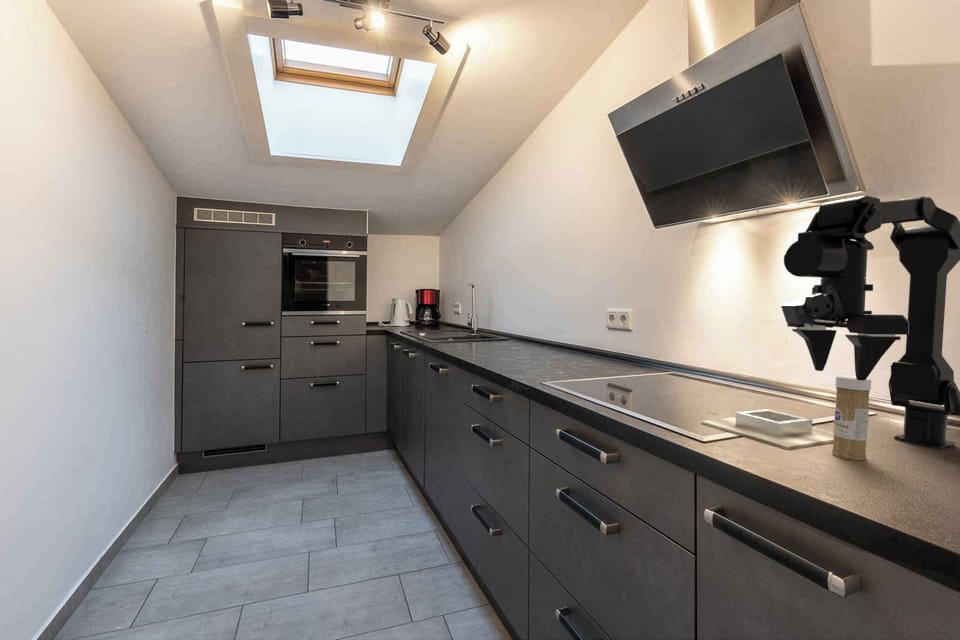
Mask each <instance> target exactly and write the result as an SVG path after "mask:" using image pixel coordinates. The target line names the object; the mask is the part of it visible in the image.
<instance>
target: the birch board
mask: <svg viewBox="0 0 960 640" xmlns="http://www.w3.org/2000/svg"><path fill="white" fill-rule="evenodd" d="M735 423H736V416H734V417H733V416H732V417H724V418H717V419H716V418H715V419H709V420H706V419H705V420H701V424H703V425H705V426H709V427H712V428H715V429H719V430H723V431H726V432H729V433H732V434H736V435H740V436H741V437H745V438H747V439H752V440H754V441H758V442H761V443H764V444H768V445H770V446H775V447H778V448H782V449H784V450H788V451H789V450H795V449H800V448H806V447H813V446H818V445H819V446H820V445H826V444H830V443H832V444H833V440H834V431H830V430H826V429H822V428H818V427H815V426H812V433H805V434H799V435H792V436H785V437H777V436H774V435H770V434H767V433H763V432H760V431H756V430H753V429H749V428H746V427H742V426H739V425H735Z"/></svg>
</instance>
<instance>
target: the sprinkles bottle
mask: <svg viewBox="0 0 960 640" xmlns="http://www.w3.org/2000/svg"><path fill="white" fill-rule="evenodd" d="M834 383H835V384H834V385H835V389H836V396H835V397H836V398H835V409H834V418H833V419H834V421H833V432H834V440H833V442H832V449H831V452H832V454H833V455H834V456H836V457H838V458H842V459H846V460H849V461H850V460H851V461H864V460H866V459H867V455H866V451H867V450H866V449H867V441H868V429H869V427H868V426H869V414H870V413H869V412H870V411H869V410H870V408H869V402H870V393H871V390H872V379H871V378H870V377H867V379H866V380H864V381H862V380H857V379H856V375H853V374H852V375H851V374H838V375H836V377H835V382H834Z"/></svg>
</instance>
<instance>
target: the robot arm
mask: <svg viewBox="0 0 960 640" xmlns="http://www.w3.org/2000/svg"><path fill="white" fill-rule="evenodd" d="M918 221H919V222H920V221H924V223H925V224H926V225H925V226H916V227H908V228H906V229H905V227H903V225H902V224H903V223H904V224H905V223H910V222H918ZM884 224H885V225H886V224H892V225H893V229H892V232H891V234H890V236H889V239H890V241H891V242H892V243H893V245H894V246H895V248H896V250H897V252H898V260H899V262H900V263H901V265H902V266H903V268H904V269H905V270H906V271H907V273H908V274H909V290H908V292H909V293H908V303H907V304H908V305H907V307H908V308H907V317H906V316H904V315H903V314H891V313H889V314H885V313H881V314H880V313H876V314H875V313H873V311H872V310H865V309H866V294H867V293H866V292H873V290H874V284H871V283H869V284H868V283H867V268H868V266H867V265H868V251H873V250H874V249H875V246H874V245H873V243H872V242H871V241H869V240H868V239H867V238H866V237H865V236H866V235H867V234H869V233H871V232H874V231H876V230H878V229H880V228H881V227H882V225H884ZM959 262H960V220H959V218H958V217H957V216H956V215H955V214H953V213H950V212H948V211H946V210H944V209H942V208H940V207H938V206H937V205H936V203H935V201H934V199H933V198H931V197H929V196H927V197H926V196H918V197H912V198H910V197H909V198H904V199H898V200H888V201H881V198H879V197H875V196H871V195H863V196H862V195H861V196H857V197H856V196H855V197H850V198H846V199H845V198H844V199H839V200H834V201H829V202H824V203H821V204H820V205H818V210H817V211H816V212H815V214H814V215H813V217H812V219H811V221H810V223H809V225H808V226H807V228H806V230H805V231H804V232H798V234H797V240H796V241H795V242H793V243H792V244H791V245H789V247H788V249H787V250H786V251H785V254H784V256H783V265H784V268H785V269H786V270H787V272H788V273H789V274H790V275H792V276H795V277H800V278H820V284H814V285H813V287H812V288H811V289H812V290H811V294H809V295H807V296H802V297H799V298H796V299H793V300H790V301H787V302H785V303H782V304H780V307H781V310H782V313H783V316H784V320H785V322H786V325H787V326H786V327H790V328H791V330H792V332H793V333H796V334H797V335H798V336H800V337H801V338H802V339H803V340H804V342H805V345H806V346H807V349H808V352H809V355H810V358H811V362H812V365H813V367H814V371H816V372H822V371H824V369H825V368H826V364H827V361H828V360H829V359H828V358H829V356H830V352H831V349H832V346H833V343H834V341H835V337H836V334H837V331H838V330H836V329H832V328H845V329H847V330H848V333H850V334H845V335H844V336H845V337H846V338H847V339H848V341H849V342H850V343H851V344H852V346H853V350H854V352H853V355H854V372H855V376H856V379H857V380H862V381H864V380H866V379H867V378H869V376H870V374H871V373H872V371H874V369H875V367H876V366H877V365H878V363H879V361H880V360H881V359H882V357H883V356H884V355H885V354H886V353H887V351H888V350H889V349H890V348H891V346H892V345H893V344H894V343H895V342H896V341H901V339H902V336H901V335H906V336H905V337H906V340H905V352H904V354H903V356H902V357H900V359H899V360H898V361H893V362H892V363H891V365H890V376H889V380H888V390H889V396H890V402H891V406H893V407H901V408H904V417H903V419H904V420H903V433H902V434H899V435H894V436H893V439H894V440H899V441H902V442H907V443H910V444H911V443H912V444H916V445H919V446H923V447H928V448H933V449H942V448H948V447H953V446H952V445H954V446H956V444H957V443H956V442H954V441H950V440H947V433H948V419H949V418H948V417H949V416H960V390H959V387H958V385H957V384H956V382H955V377H954V375H955V374H954V373H955V371H954V370H953V368H952V367H951V366H950V364H949V363H948V361H947V360H946V359H945V357H944V356H943V346H944V345H943V343H944V324H945V314H946V312H945V309H946V295H947V294H946V293H947V279H948V275H949V273H950V272H951V271H952V270H953V269H954V268H955V266H956V265H958V263H959ZM828 328H831V329H828ZM899 335H900V336H899Z"/></svg>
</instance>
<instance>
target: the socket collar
mask: <svg viewBox="0 0 960 640" xmlns="http://www.w3.org/2000/svg"><path fill="white" fill-rule="evenodd" d="M735 417H736V423H735V425H739V426H742V427H746V428H749V429H753V430H756V431H760V432H763V433H767V434H770V435H774V436H777V437H785V436H792V435H799V434H805V433H812V427H813V419H811V418H806V417H803V416H798V415H794V414H790V413H789V414H788V413H784V412H781V411H777V410H772V409H768V408H763V409H756V410H755V409H753V410H747V411H745V410H744V411H737V412H735Z"/></svg>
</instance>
